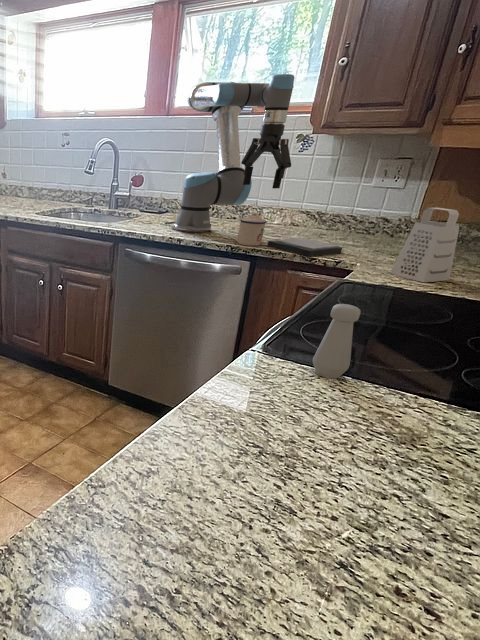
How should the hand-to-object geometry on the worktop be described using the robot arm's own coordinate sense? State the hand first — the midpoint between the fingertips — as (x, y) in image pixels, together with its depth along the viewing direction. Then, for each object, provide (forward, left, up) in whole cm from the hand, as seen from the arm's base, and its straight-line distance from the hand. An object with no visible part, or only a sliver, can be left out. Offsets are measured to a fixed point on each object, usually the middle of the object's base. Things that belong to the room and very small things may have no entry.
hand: (260, 186), depth 194 cm
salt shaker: (+95, -78, -21) cm, 125 cm away
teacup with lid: (0, 0, -21) cm, 21 cm away
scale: (+16, +10, -21) cm, 28 cm away
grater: (+56, +11, -21) cm, 61 cm away
